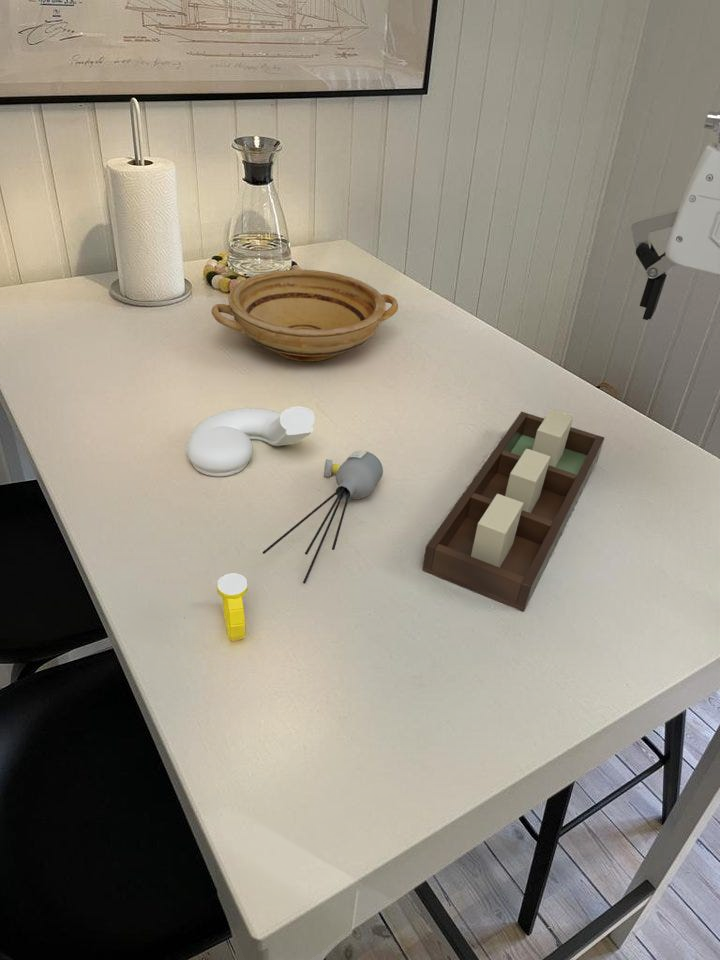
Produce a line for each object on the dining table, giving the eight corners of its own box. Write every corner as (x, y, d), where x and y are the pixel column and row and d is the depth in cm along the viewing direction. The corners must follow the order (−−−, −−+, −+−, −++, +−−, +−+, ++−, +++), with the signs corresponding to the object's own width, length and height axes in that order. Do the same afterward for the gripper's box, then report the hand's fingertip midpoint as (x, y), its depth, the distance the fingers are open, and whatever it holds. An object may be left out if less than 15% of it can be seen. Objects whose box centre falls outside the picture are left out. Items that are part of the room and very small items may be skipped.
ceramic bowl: (370, 308, 134) (374, 264, 129) (419, 373, 116) (425, 325, 111) (202, 318, 126) (199, 272, 121) (226, 390, 107) (224, 339, 103)
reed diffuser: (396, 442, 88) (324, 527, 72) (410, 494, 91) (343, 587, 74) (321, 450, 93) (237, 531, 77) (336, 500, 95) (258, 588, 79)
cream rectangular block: (562, 454, 99) (573, 415, 95) (550, 477, 95) (561, 437, 91) (540, 447, 100) (550, 408, 96) (527, 469, 96) (537, 429, 92)
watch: (215, 606, 74) (212, 562, 70) (243, 602, 75) (242, 558, 71) (223, 653, 69) (220, 608, 66) (253, 648, 70) (252, 603, 67)
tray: (597, 459, 100) (605, 437, 98) (523, 612, 76) (531, 586, 74) (516, 433, 104) (521, 411, 102) (421, 570, 80) (426, 545, 78)
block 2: (539, 496, 91) (550, 456, 88) (524, 523, 87) (535, 481, 83) (516, 488, 92) (526, 448, 89) (500, 514, 88) (510, 473, 84)
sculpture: (177, 433, 98) (172, 380, 93) (288, 418, 103) (289, 366, 98) (195, 488, 89) (191, 432, 84) (316, 468, 94) (318, 414, 89)
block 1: (512, 544, 84) (523, 502, 80) (494, 576, 79) (505, 533, 76) (487, 535, 85) (497, 493, 81) (468, 566, 80) (477, 523, 77)
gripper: (655, 125, 62) (600, 318, 72) (889, 164, 56) (795, 368, 66) (669, 112, 68) (617, 293, 78) (885, 147, 62) (798, 337, 72)
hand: (699, 328), depth 72 cm, fingers open, 9 cm apart
